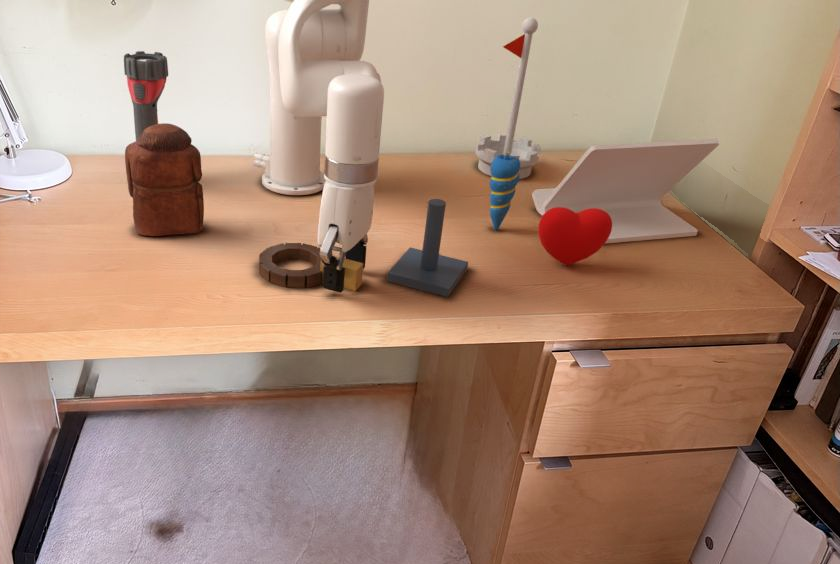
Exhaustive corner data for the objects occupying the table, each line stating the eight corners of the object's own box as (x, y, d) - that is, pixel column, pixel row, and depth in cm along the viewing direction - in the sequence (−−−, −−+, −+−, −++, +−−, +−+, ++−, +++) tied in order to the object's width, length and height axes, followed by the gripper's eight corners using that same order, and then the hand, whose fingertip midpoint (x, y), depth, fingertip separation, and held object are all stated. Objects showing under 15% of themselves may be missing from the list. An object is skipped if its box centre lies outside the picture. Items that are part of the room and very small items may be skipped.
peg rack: (386, 281, 121) (394, 206, 114) (408, 255, 128) (417, 183, 121) (448, 297, 117) (459, 221, 111) (467, 269, 125) (478, 197, 118)
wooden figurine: (201, 219, 136) (196, 117, 126) (206, 235, 130) (201, 130, 120) (131, 223, 133) (120, 119, 123) (133, 240, 128) (122, 133, 118)
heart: (595, 258, 131) (610, 203, 125) (605, 273, 127) (621, 217, 121) (527, 256, 130) (538, 200, 125) (535, 272, 126) (547, 215, 120)
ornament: (508, 238, 136) (524, 155, 127) (479, 234, 136) (493, 151, 128) (509, 225, 140) (524, 144, 132) (480, 221, 141) (494, 141, 132)
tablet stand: (698, 235, 141) (729, 144, 131) (576, 246, 134) (600, 151, 125) (640, 195, 155) (665, 110, 146) (528, 203, 149) (545, 115, 139)
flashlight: (166, 168, 154) (157, 48, 141) (181, 182, 148) (173, 58, 136) (128, 174, 150) (115, 51, 138) (141, 188, 145) (129, 62, 132)
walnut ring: (246, 276, 120) (245, 255, 118) (280, 248, 128) (280, 228, 126) (343, 303, 114) (345, 282, 112) (372, 272, 123) (374, 252, 121)
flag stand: (514, 155, 170) (541, 9, 154) (547, 178, 160) (580, 24, 144) (462, 160, 166) (484, 11, 149) (492, 183, 156) (519, 26, 139)
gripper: (351, 144, 117) (345, 249, 127) (299, 182, 104) (296, 297, 113) (398, 154, 114) (387, 260, 124) (350, 194, 101) (343, 310, 111)
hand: (344, 277), depth 119 cm, fingers open, 7 cm apart
